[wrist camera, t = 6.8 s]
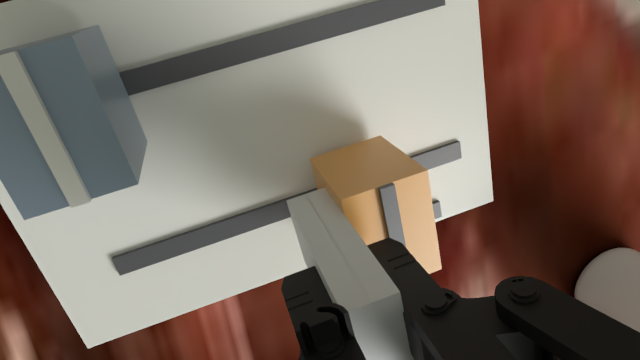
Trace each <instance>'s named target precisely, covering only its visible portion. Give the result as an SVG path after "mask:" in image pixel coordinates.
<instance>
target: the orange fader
mask: <svg viewBox="0 0 640 360" xmlns="http://www.w3.org/2000/svg"><path fill="white" fill-rule="evenodd" d="M309 159H310V162H311V166H312V170H313V174H314V178H315V182H316V185H317V189H321V188H324V187H325V189H326V190H327V191H328V193H329V194H330V195H331V197H332V198H333V200H334V201H335V202H336V204H337V205H338V207H339V208H340V209H341V211H342V212H343V213H344V215H345V216H346V218H347V219H348V220H349V222H350V223H351V224H352V226H353V227H354V229H355V230H356V231H357V233H358V234H359V236H360V237H361V238H362V240H363V241H364V242H365V244H366V245H369V244H372V243H375V242H378V241H380V240H383V239H386V238H388V237H389V238H392V239H394V240H396V241H398V242H401V243H402V244H403V245H404V246H405V247H406V248H407V250H408V251H409V252H410V254H412V255H413V256H414V258H415V259H416V261H418V262H419V263H420V265H421V266H422V267H423V268H424V269H425V270H426V271H427V273H428V274H430V273H433V272H435V271H438V270H440V269H442V267H441V260H440V253H439V246H438V239H437V232H436V225H435V218H434V211H433V204H432V197H431V190H430V183H429V176H428V170H427V169H426V168H424V167H423V166H421V165H420V164H419V163H417V162H416V161H415V160H413V159H412V158H410V157H409V156H408V155H406V154H405V153H404V152H402V151H401V150H400V149H398V148H397V147H395V146H394V145H393V144H391V143H390V142H389V141H387V140H386V139H385V138H383V137H382V136H377V137H374V138H371V139H368V140H365V141H362V142H358V143H355V144H352V145H349V146H346V147H343V148H340V149H337V150H334V151H331V152H328V153H325V154H322V155H319V156H316V157H312V158H309Z"/></svg>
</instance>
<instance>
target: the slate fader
mask: <svg viewBox="0 0 640 360" xmlns="http://www.w3.org/2000/svg"><path fill="white" fill-rule="evenodd" d="M147 142H148V141H147V139H146V136H145V134H144V132H143V129H142V127H141V125H140V122H139V120H138V117H137V115H136V113H135V110H134V108H133V105H132V103H131V101H130V98H129V96H128V94H127V91H126V89H125V86H124V84H123V82H122V79H121V77H120V74H119V72H118V70H117V67H116V65H115V63H114V60H113V58H112V55H111V53H110V51H109V48H108V46H107V43H106V41H105V39H104V36H103V34H102V32H101V29H100V27H99V25H95V26H91V27H88V28H84V29H80V30H76V31H72V32H68V33H65V34H61V35H57V36H53V37H49V38H45V39H42V40H38V41H34V42H30V43H26V44H22V45H19V46H15V47H11V48H7V49H3V50H0V180H1V182H2V183H3V185H4V187H5V189H6V190H7V192H8V194H9V195H10V197H11V199H12V200H13V202H14V204H15V206H16V207H17V209H18V211H19V212H20V214H21V216H22V217H23V219H24V220H27V219H30V218H33V217H37V216H40V215H43V214H46V213H49V212H52V211H55V210H59V209H62V208H65V207H68V206H70V207H71V208H73V207H76V206H80V205H83V204H86V203H89V202H91V200H92V199H93V198H97V197H100V196H103V195H106V194H109V193H112V192H116V191H119V190H122V189H125V188H128V187H131V186H134V185H138V183H139V179H140V174H141V169H142V165H143V160H144V156H145V151H146V147H147Z"/></svg>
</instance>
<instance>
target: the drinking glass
mask: <svg viewBox="0 0 640 360" xmlns="http://www.w3.org/2000/svg"><path fill="white" fill-rule="evenodd" d="M574 297H575V299H577V300H579V301H581V302H583V303H585V304H587V305H589V306H591V307H592V308H594V309H596V310H598V311H600V312H602V313H604V314H606V315H608V316H610V317H611V318H613V319H615V320H617V321H619V322H621V323H623V324H625V325H627V326H628V327H630V328H632V329H634V330H636V331H638V332H640V252H638V251H636V250H634V249H630V248H614V249H610V250H607V251H605V252H603V253H601V254H600V255H598V256H597V257H595V258H594V259H593V260H592V261H591V262H590V263H589V264H588V265H587V266H586V267H585V268H584V269H583V271H582V272H581V274H580V276H579V278H578V280H577V283H576V286H575V291H574Z"/></svg>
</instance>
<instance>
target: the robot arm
mask: <svg viewBox="0 0 640 360" xmlns="http://www.w3.org/2000/svg"><path fill="white" fill-rule="evenodd" d="M286 201H287V205H288V208H289V211H290V215H291V218H292V221H293V224H294V228H295V231H296V234H297V238H298V241H299V244H300V248H301V251H302V254H303V258H304V261H305V263H306V265H307V269H304V270H302V271H299V272H296V273H293V274H291V275H288V276H285V277H284V280H283V284H282V288H281V290H282V293H283V296H284V299H285V302H286V305H287V308H288V311H289V314H290V317H291V320H292V323H293V326H294V329H295V333H296V336H297V339H298V342H299V345H300V350H301V351H300V357H299V359H298V360H640V332H638V331H636V330H634V329H632V328H630V327H628V326H627V325H625V324H623V323H621V322H619V321H617V320H615V319H613V318H611V317H610V316H608V315H606V314H604V313H602V312H600V311H598V310H596V309H594V308H592V307H591V306H589V305H587V304H585V303H583V302H581V301H579V300H577V299H575V298H574V297H572V296H570V295H568V294H566V293H564V292H562V291H560V290H558V289H556V288H555V287H553V286H551V285H549V284H547V283H545V282H543V281H541V280H538V279H535V278H533V277H526V276H517V277H510V278H508V279H505V280H503V281H501V282H500V283H499V284H498V285H497V286H496V289H495V293H494V294H495V296H489V297H481V298H461V297H460V296H459V295H458V294H456V293H455V292H454V291H452V290H448V289H445V288H440V286H439V285H438V284H437V283H436V282H435V281H434V280H433V278H432V277H431V276H430V275H429V274H428V273H427V271H426V270H425V269H424V268H423V267H422V266H421V265H420V263H419V262H418V261H416V259H415V258H414V256H413V255H412V254H410V252H409V251H408V250H407V248H406V247H405V246H404V245H403V244H402V243H401V242H398V241H396V240H394V239H392V238H389V237H388V238H386V239H383V240H380V241H378V242H375V243H372V244H369V245H366V244H365V242H364V241H363V240H362V238H361V237H360V236H359V234H358V233H357V231H356V230H355V229H354V227H353V226H352V224H351V223H350V222H349V220H348V219H347V218H346V216H345V215H344V213H343V212H342V211H341V209H340V208H339V207H338V205H337V204H336V202H335V201H334V200H333V198H332V197H331V195H330V194H329V193H328V191H327V190H326V189H325V187H324V188H321V189H318V190H316V191H313V192H310V193H307V194H304V195H301V196H298V197H295V198H292V199H289V200H286ZM413 358H414V359H413Z"/></svg>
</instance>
